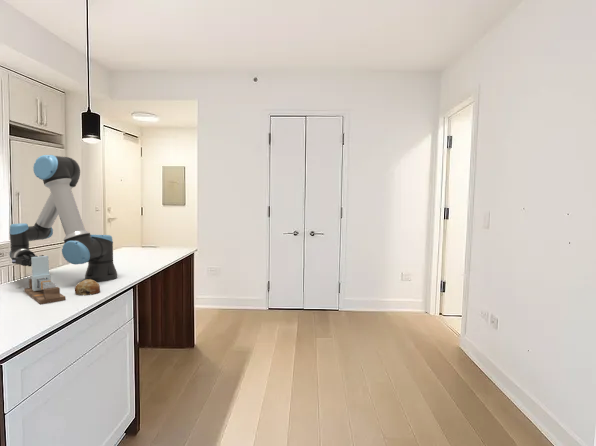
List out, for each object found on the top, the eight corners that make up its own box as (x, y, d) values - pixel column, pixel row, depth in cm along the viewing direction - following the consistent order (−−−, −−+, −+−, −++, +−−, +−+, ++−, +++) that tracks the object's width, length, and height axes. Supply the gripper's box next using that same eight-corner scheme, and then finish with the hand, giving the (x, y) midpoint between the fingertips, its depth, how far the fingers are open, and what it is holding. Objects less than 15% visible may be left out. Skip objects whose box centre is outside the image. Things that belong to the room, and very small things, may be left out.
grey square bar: (32, 283, 179) (31, 275, 179) (40, 281, 181) (40, 274, 181) (47, 293, 162) (46, 285, 161) (56, 291, 164) (56, 283, 164)
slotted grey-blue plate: (32, 289, 173) (30, 257, 172) (49, 287, 177) (47, 255, 176) (33, 291, 171) (32, 258, 170) (50, 288, 175) (49, 256, 174)
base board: (24, 291, 178) (23, 279, 178) (47, 288, 185) (46, 276, 184) (40, 304, 159) (39, 291, 158) (65, 300, 165) (65, 287, 165)
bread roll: (75, 303, 173) (74, 289, 169) (75, 289, 181) (74, 275, 177) (100, 301, 177) (100, 286, 174) (99, 287, 185) (99, 273, 182)
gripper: (40, 263, 196) (54, 270, 179) (8, 266, 186) (19, 274, 170) (40, 248, 195) (53, 253, 178) (7, 250, 186) (18, 256, 169)
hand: (36, 263), depth 174 cm, fingers closed
